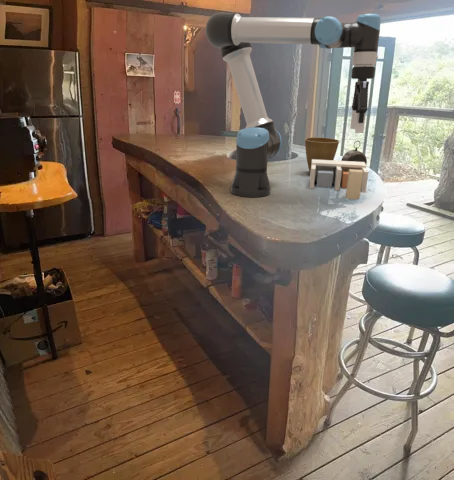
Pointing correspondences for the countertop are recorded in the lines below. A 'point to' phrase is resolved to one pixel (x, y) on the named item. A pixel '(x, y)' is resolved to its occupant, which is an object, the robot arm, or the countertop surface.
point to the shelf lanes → (337, 171)
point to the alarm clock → (354, 156)
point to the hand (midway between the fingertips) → (356, 130)
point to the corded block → (352, 183)
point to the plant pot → (320, 149)
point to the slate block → (324, 178)
